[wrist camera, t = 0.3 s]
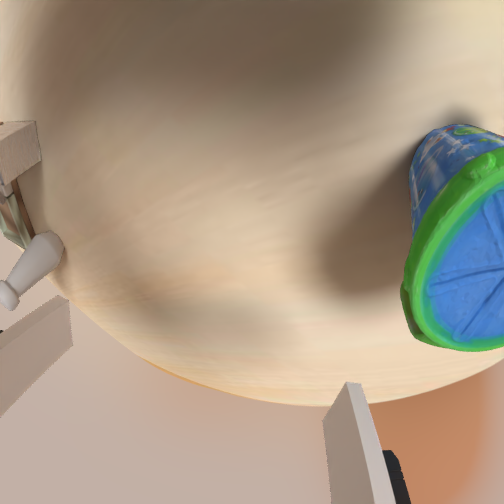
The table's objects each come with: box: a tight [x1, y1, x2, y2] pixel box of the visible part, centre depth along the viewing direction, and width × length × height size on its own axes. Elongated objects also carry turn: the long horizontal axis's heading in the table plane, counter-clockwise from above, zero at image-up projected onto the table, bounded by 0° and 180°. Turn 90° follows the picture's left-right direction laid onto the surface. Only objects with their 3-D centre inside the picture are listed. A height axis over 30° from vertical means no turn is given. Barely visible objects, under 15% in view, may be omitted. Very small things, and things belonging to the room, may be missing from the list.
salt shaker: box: [0, 231, 64, 311], centre depth 30 cm, size 6×6×13 cm
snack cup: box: [400, 124, 504, 352], centre depth 11 cm, size 16×10×10 cm
